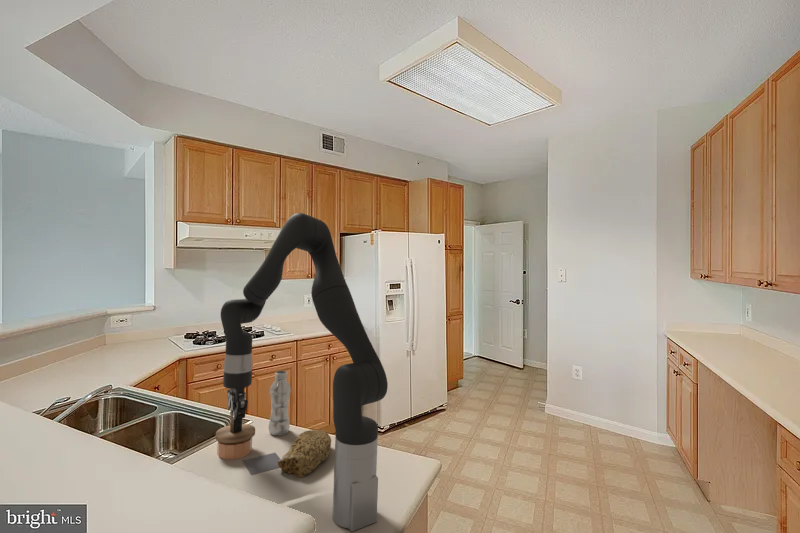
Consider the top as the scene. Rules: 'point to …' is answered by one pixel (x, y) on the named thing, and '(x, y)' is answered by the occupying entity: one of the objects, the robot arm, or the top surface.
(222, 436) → the lid
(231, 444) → the bowl
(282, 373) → the plastic bottle
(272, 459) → the mat
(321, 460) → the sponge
